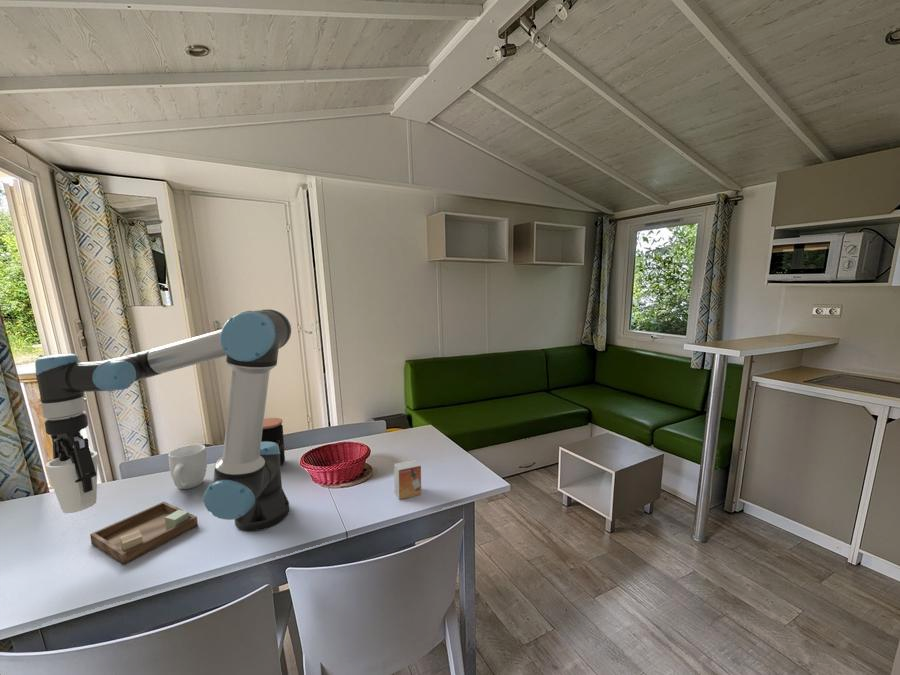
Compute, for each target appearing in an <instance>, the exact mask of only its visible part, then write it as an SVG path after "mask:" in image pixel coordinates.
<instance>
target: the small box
mask: <svg viewBox="0 0 900 675" xmlns="http://www.w3.org/2000/svg"><path fill="white" fill-rule="evenodd" d="M393 468H394V469H393V472H394V473H393V474H394V478H393V479H394V480H393V481H394V482H393V483H394V493H395V495H396V497H397V498H398V500H404V499H407V498H411V497H417V496H421V495H422V466H421V464H420V463H419V461H417V459H413V460H408V461H402V462H396V463H393Z"/></svg>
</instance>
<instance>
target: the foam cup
mask: <svg viewBox="0 0 900 675" xmlns="http://www.w3.org/2000/svg"><path fill="white" fill-rule="evenodd" d="M90 453H91V456H92V460H93V464H94V467H95V471H96V476H94V477H92V479H93V485H94V492H95V498H96V499H97V495H98V492H97V491H98V464H99V455H98V452H97V451H95V450H90ZM45 472H46V475H47V476H48V479H49V481H50V483H51V485H52V486H51V487H52V488H53V491H54V494H55V496H56V499H57V502H58V504H59V505H60V506H59V507H60V509H61V511H62V513H64V514H74V513H78V512H82V511H84V510H87V509H89V508H90V507H93V506H94V505H95V504H96V503H97V500H96V501H93V502H91V503H88V504H86V505H83V506H81V505H80V498H79V492H78V486H77V483H75V481H76V480H78V477H77V474H76V471H75V464H74V463H72V461H71V459H69V460H67V461H60V458H56V459H54V460H53V459H52V460H50V461H48V462H46V464H45ZM87 474H88V473H87Z"/></svg>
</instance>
